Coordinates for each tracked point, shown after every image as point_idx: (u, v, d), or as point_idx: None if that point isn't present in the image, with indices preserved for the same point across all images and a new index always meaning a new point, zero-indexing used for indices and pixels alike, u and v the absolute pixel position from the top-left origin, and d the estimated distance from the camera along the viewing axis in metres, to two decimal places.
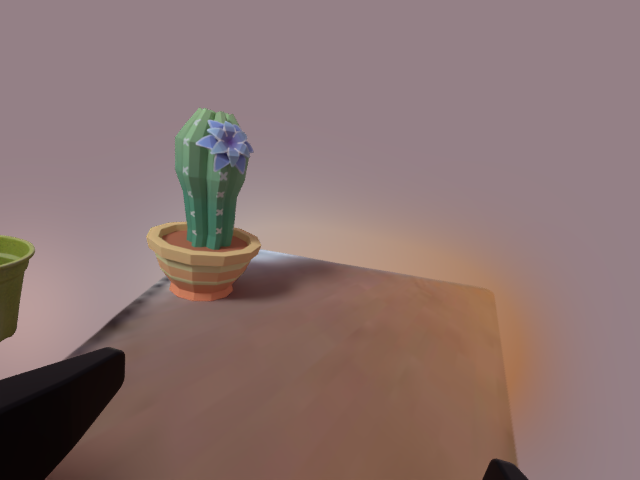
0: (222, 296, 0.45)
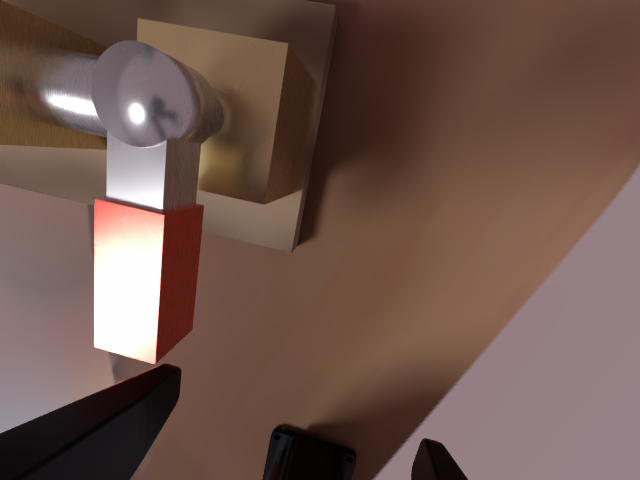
0: None
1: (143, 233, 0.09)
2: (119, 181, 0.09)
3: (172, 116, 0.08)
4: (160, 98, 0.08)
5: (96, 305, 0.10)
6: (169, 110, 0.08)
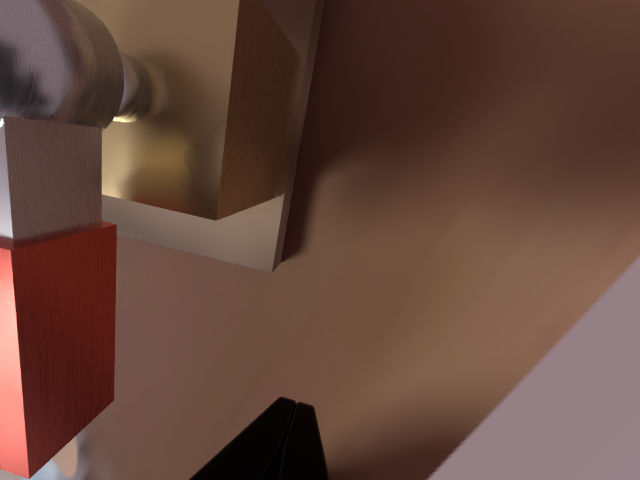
0: None
1: None
2: None
3: (4, 72, 0.04)
4: None
5: None
6: None
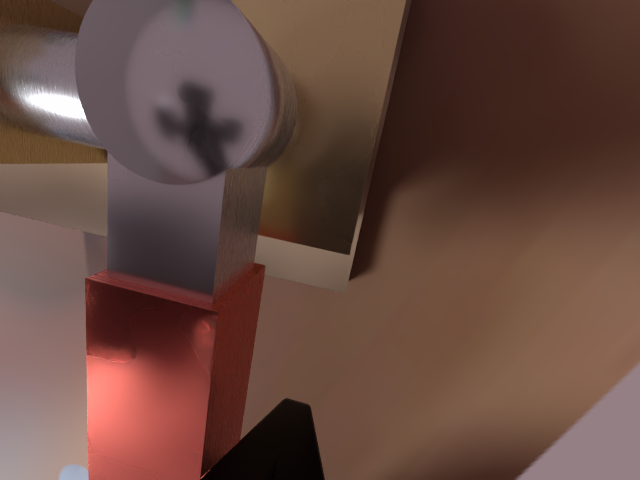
0: None
1: (176, 341, 0.05)
2: (131, 246, 0.05)
3: (240, 124, 0.04)
4: (217, 87, 0.04)
5: (91, 450, 0.06)
6: (235, 112, 0.04)
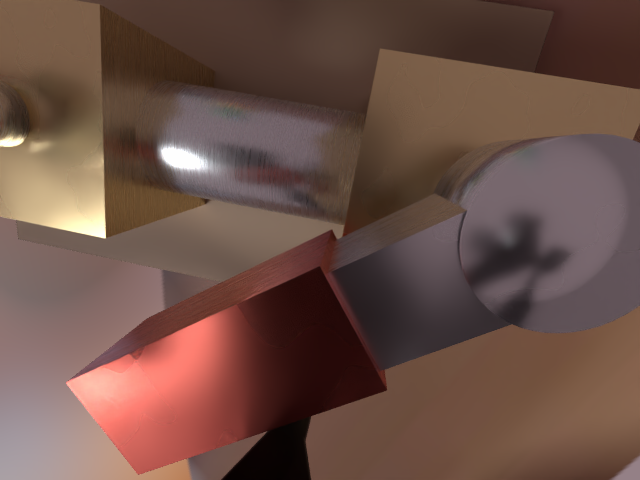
0: None
1: (328, 373, 0.05)
2: (379, 280, 0.04)
3: (568, 320, 0.04)
4: (591, 288, 0.04)
5: (136, 355, 0.05)
6: (577, 312, 0.04)
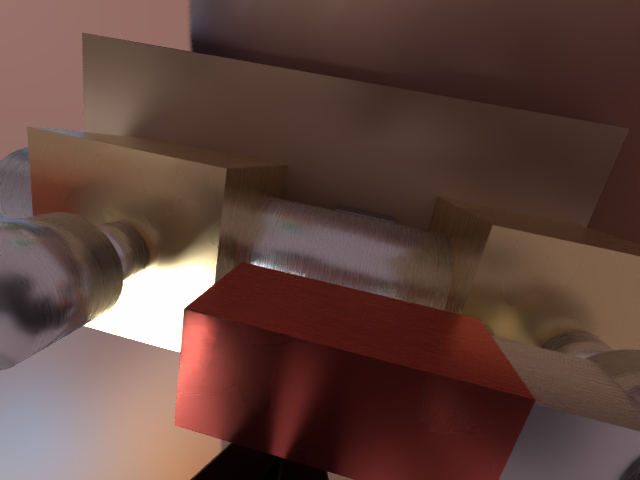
0: None
1: (447, 474, 0.05)
2: (558, 436, 0.04)
3: None
4: None
5: (284, 339, 0.04)
6: None
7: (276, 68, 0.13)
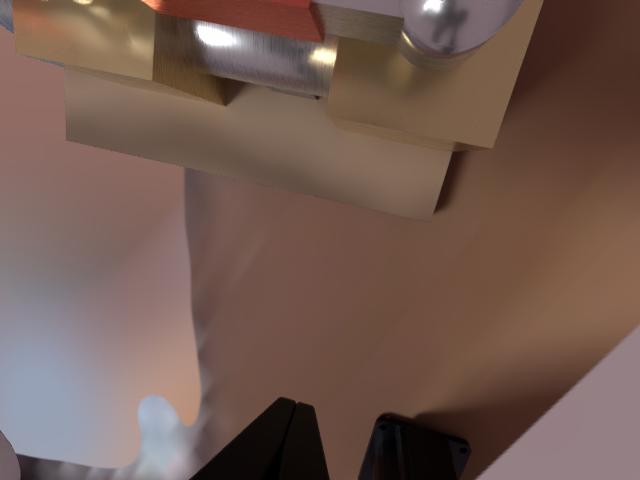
0: None
1: None
2: None
3: (431, 30, 0.07)
4: (455, 14, 0.06)
5: None
6: (438, 27, 0.07)
7: None
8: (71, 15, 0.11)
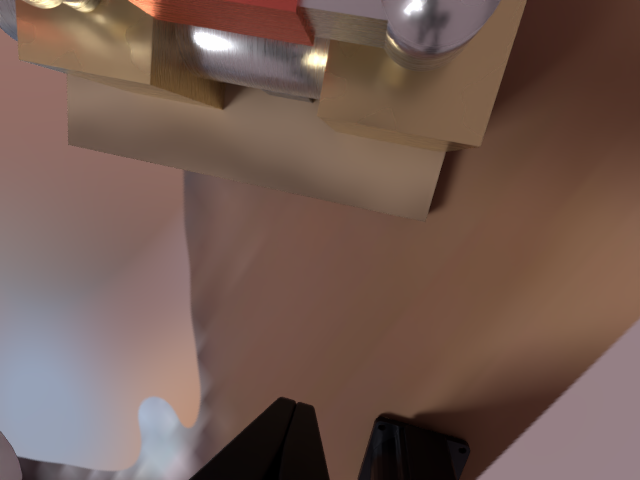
0: None
1: None
2: None
3: (413, 32, 0.07)
4: (435, 16, 0.07)
5: None
6: (419, 28, 0.07)
7: None
8: (72, 22, 0.12)
